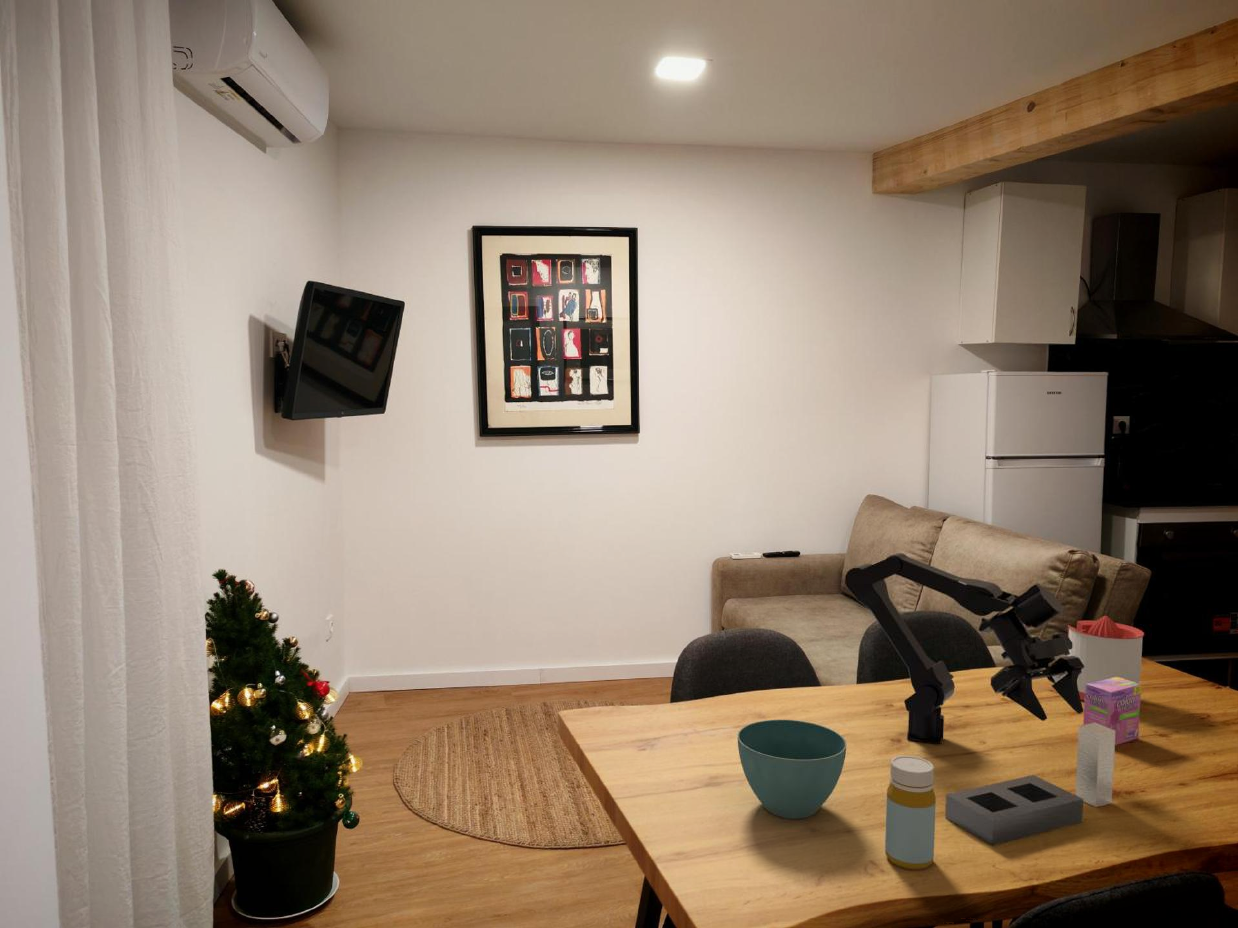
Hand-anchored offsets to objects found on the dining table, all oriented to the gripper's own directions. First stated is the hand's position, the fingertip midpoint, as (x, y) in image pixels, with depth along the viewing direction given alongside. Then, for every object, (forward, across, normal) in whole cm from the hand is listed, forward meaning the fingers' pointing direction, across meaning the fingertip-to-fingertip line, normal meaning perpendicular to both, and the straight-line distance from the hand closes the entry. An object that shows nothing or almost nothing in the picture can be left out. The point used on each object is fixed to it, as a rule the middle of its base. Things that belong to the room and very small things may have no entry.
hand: (1063, 716), depth 158 cm
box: (+1, +28, +17) cm, 33 cm away
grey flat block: (+14, -19, +4) cm, 24 cm away
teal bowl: (+1, -51, +17) cm, 54 cm away
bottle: (+16, -44, +2) cm, 47 cm away
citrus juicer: (-12, +48, +30) cm, 58 cm away
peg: (+14, 0, +4) cm, 15 cm away
